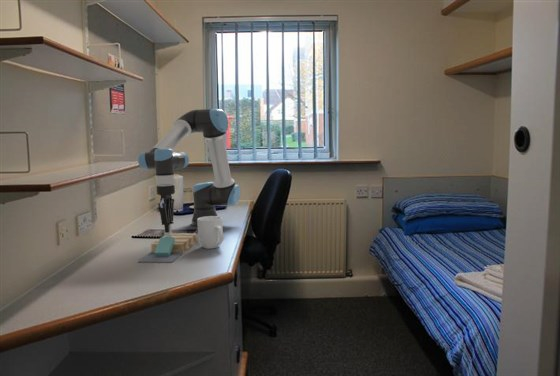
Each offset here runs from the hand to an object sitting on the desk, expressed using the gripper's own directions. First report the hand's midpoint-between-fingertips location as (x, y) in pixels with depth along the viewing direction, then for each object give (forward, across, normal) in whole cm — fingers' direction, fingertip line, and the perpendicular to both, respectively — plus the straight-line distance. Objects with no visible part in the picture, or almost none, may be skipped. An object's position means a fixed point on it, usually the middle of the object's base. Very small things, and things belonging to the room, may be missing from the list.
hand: (168, 239), depth 197 cm
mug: (+6, -8, +17) cm, 19 cm away
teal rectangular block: (+3, +4, 0) cm, 5 cm away
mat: (+6, +9, 0) cm, 11 cm away
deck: (+6, -8, 0) cm, 9 cm away
